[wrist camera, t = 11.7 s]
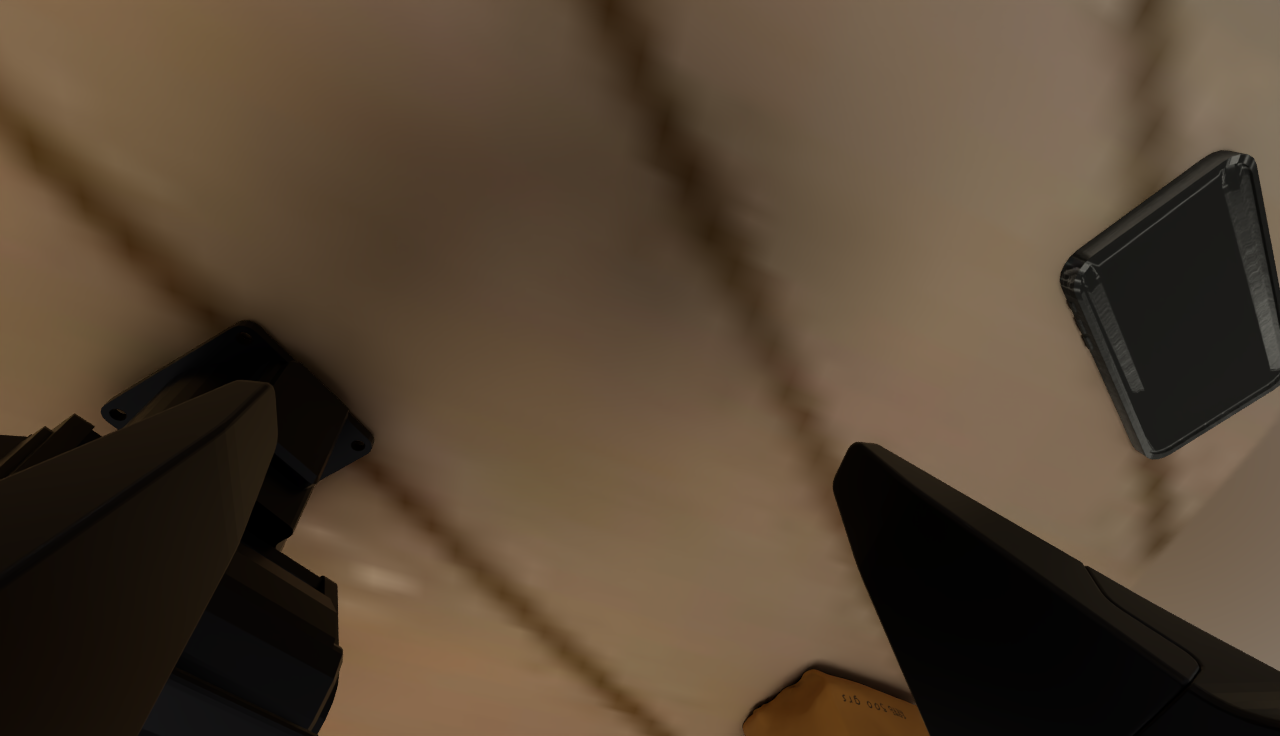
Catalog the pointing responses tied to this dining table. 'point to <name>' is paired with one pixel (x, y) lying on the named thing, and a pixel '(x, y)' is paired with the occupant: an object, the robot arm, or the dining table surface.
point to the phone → (1182, 304)
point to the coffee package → (834, 711)
